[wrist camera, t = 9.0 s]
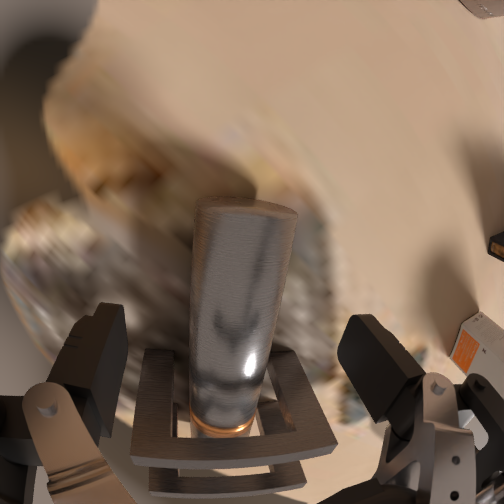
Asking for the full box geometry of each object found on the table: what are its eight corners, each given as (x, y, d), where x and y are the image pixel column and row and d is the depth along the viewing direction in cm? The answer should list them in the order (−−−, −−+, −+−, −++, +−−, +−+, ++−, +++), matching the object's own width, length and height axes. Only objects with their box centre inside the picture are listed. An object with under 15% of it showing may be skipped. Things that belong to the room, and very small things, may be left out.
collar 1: (145, 348, 17) (129, 455, 9) (294, 350, 19) (338, 443, 11) (146, 361, 17) (134, 464, 10) (290, 362, 20) (330, 453, 12)
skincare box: (460, 322, 23) (526, 383, 12) (480, 309, 24) (542, 362, 13) (447, 359, 26) (501, 418, 15) (467, 346, 26) (519, 398, 15)
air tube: (196, 193, 14) (194, 213, 10) (282, 202, 15) (314, 224, 11) (190, 425, 21) (192, 467, 16) (240, 424, 22) (249, 465, 17)
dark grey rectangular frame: (153, 401, 19) (148, 491, 11) (278, 401, 21) (307, 482, 13) (154, 409, 19) (151, 495, 12) (276, 408, 22) (302, 487, 14)
